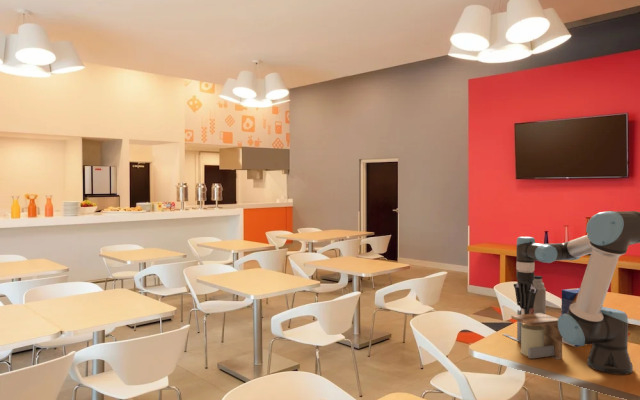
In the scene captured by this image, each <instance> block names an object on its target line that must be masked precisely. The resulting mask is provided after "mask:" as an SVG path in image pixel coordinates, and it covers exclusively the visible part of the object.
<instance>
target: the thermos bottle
mask: <svg viewBox="0 0 640 400" xmlns="http://www.w3.org/2000/svg"><path fill="white" fill-rule="evenodd" d="M533 287H534V288H535V289H537V290H538V291H537V293H536V296H535V301H534V306H533V308H532V309H529V314H534V313H543V314H546V309H547V308H546V305H547V304H546V299H547V298H546V295H547V294H546V293H547V292H546V291H547V289H546V287H545V283H544V282H543V276H541V275H534V280H533Z"/></svg>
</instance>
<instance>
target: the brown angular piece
mask: <svg viewBox="0 0 640 400" xmlns="http://www.w3.org/2000/svg"><path fill="white" fill-rule="evenodd" d="M510 317H511V319H512V320H515V321H516V322H517V321H519V322H522V323H523V324H527V325H530V326H539V325H540V326H542V327H544V346H550V345H553V346H554V351H555V356H550V357H551V358H553V359H556V360H561V359H562V358H563V342H562V336H561V334H560V331H559V329H558V318H559V317H558V318H557V317H554V316H552V315H548V314H546V313H545V314H543V313H534V314H523V315H517V314H515V315H511V316H510ZM502 335H503V336H504V337H506V338H508V339H511V340H513V341H516V342H518V343H519V344H521V341H518V340H517V337H514V336H512V335H509V334H507V333H503V334H502Z"/></svg>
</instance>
